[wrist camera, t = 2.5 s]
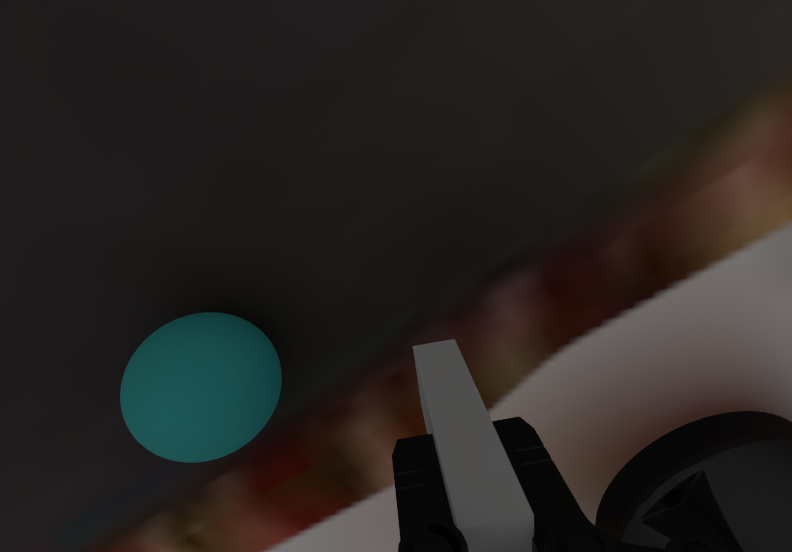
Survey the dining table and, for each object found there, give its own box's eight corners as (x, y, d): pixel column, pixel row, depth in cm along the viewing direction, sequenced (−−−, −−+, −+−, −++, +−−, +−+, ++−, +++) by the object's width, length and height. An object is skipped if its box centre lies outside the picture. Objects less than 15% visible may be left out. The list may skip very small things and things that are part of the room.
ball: (304, 385, 20) (282, 483, 14) (189, 405, 20) (123, 511, 14) (275, 280, 18) (236, 348, 12) (146, 301, 18) (48, 380, 12)
